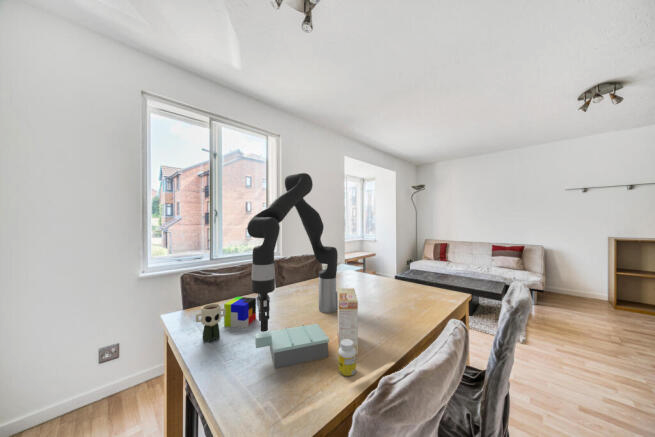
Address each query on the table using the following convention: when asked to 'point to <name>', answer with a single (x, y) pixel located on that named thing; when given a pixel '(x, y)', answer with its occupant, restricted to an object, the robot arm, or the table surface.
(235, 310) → the puzzle toy
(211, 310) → the character mug
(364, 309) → the table surface
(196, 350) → the table surface
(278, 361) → the tub
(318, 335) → the lid
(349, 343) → the supplement bottle
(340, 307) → the coffeecake box
